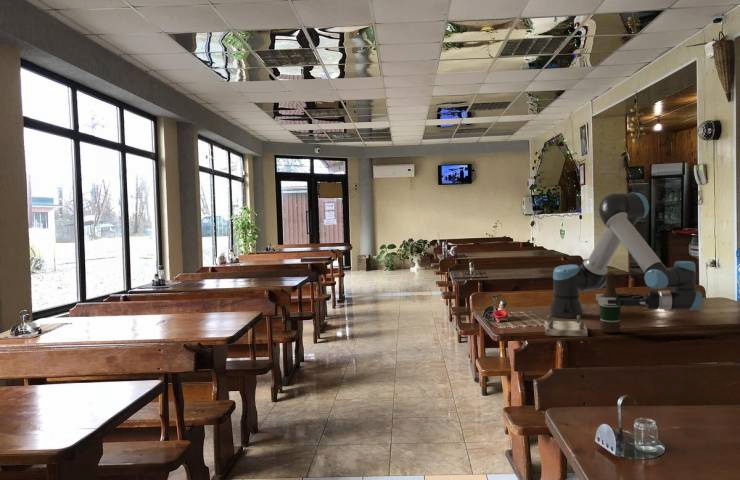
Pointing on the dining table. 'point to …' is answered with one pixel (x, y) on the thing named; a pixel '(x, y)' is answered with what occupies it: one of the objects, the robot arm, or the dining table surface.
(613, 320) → the beer bottle
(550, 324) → the condiment stand
